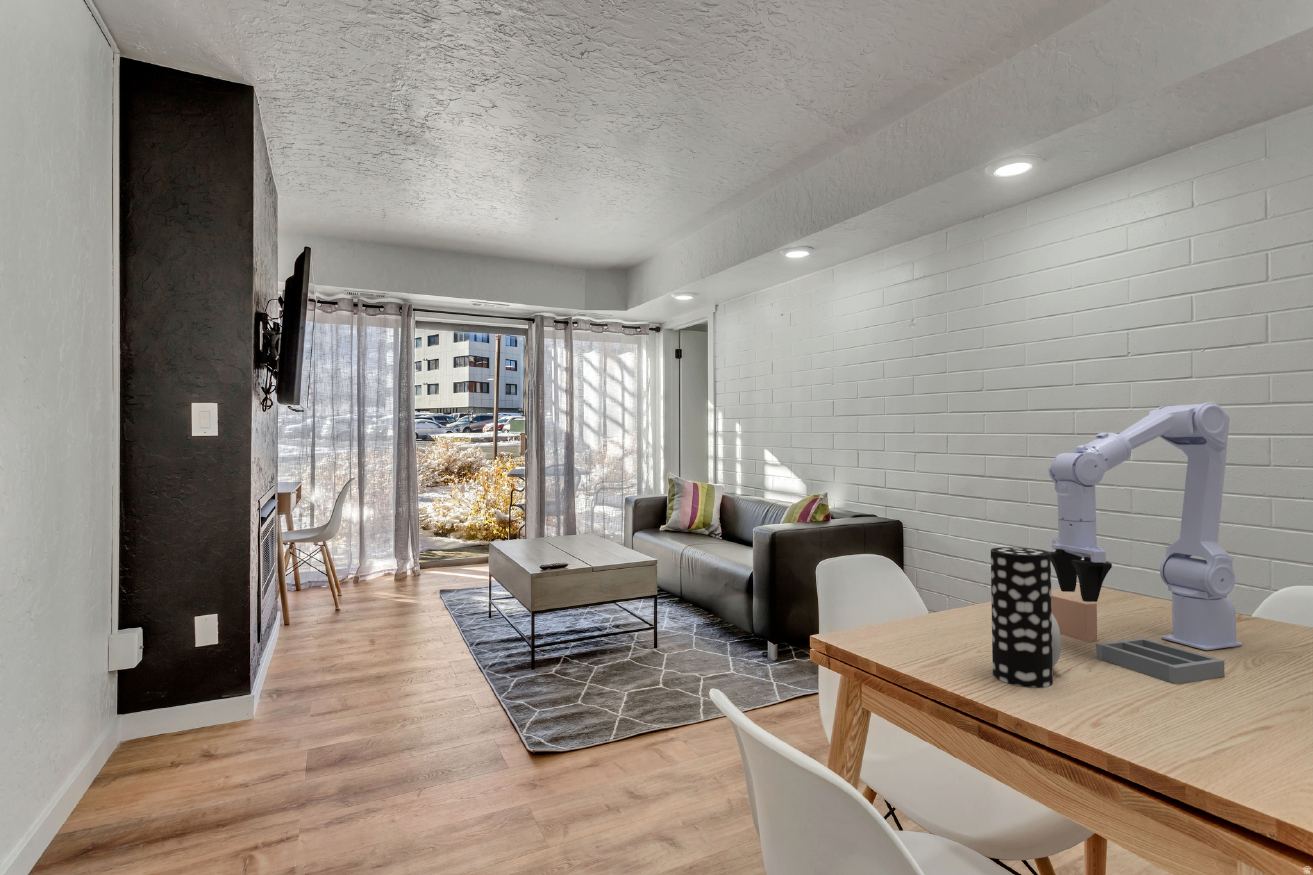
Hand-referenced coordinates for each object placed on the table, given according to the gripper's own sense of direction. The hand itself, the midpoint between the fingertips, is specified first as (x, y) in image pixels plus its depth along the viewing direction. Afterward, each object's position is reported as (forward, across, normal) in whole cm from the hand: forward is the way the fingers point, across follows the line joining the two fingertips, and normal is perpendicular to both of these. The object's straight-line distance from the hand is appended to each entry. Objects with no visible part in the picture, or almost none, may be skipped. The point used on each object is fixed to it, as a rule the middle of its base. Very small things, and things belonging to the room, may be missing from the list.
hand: (1078, 596), depth 116 cm
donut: (+10, +9, -10) cm, 17 cm away
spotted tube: (+10, +15, -16) cm, 24 cm away
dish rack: (+10, +8, +8) cm, 15 cm away
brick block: (+10, -10, +4) cm, 15 cm away
